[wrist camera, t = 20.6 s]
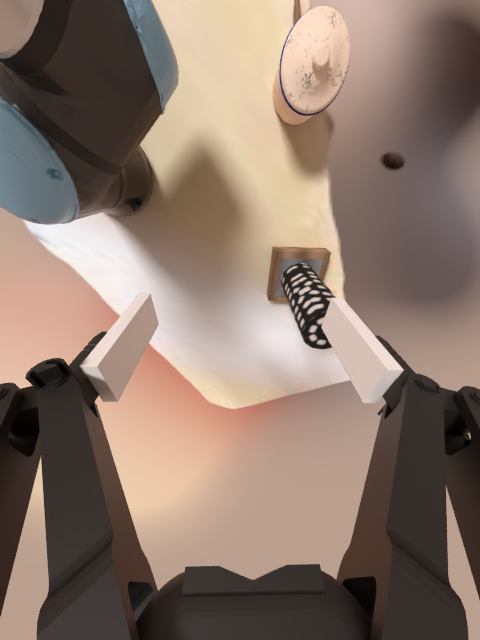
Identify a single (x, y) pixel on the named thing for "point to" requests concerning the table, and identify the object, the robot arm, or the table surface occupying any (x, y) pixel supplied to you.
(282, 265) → the plinth
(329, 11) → the teacup with lid
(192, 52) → the table surface
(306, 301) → the white-spotted black cylinder
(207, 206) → the table surface
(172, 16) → the table surface
